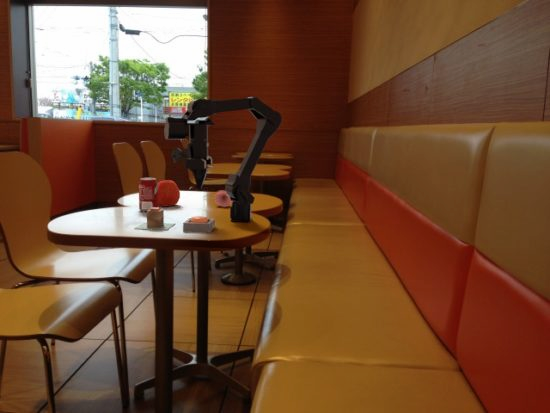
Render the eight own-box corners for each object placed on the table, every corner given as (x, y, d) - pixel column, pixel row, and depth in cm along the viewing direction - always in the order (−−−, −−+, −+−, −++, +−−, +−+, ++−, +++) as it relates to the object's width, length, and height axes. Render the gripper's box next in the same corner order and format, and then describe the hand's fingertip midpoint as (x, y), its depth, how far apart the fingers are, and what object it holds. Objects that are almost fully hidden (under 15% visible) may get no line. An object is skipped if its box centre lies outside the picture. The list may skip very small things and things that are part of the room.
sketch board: (175, 224, 144) (175, 223, 144) (167, 230, 136) (167, 229, 136) (144, 223, 145) (144, 222, 145) (134, 228, 136) (134, 228, 136)
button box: (214, 226, 142) (214, 218, 142) (209, 232, 134) (209, 223, 134) (189, 225, 143) (189, 218, 142) (183, 231, 135) (183, 222, 134)
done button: (209, 226, 141) (209, 216, 140) (205, 229, 136) (205, 219, 135) (193, 225, 141) (193, 216, 141) (189, 228, 136) (189, 219, 136)
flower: (216, 190, 186) (218, 184, 181) (234, 198, 187) (237, 192, 182) (208, 205, 182) (211, 199, 177) (227, 213, 183) (230, 208, 178)
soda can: (153, 212, 163) (152, 179, 162) (135, 211, 165) (135, 178, 163) (161, 209, 170) (160, 178, 168) (144, 208, 171) (144, 177, 169)
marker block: (163, 224, 142) (163, 207, 141) (159, 227, 138) (159, 209, 137) (151, 224, 142) (150, 206, 141) (147, 227, 138) (146, 208, 137)
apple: (176, 208, 175) (176, 181, 173) (150, 207, 175) (149, 180, 173) (182, 203, 185) (182, 178, 183) (157, 203, 185) (157, 177, 183)
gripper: (179, 138, 152) (180, 185, 155) (166, 140, 134) (167, 192, 136) (212, 139, 152) (212, 185, 155) (204, 140, 134) (204, 192, 136)
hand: (199, 188), depth 145 cm, fingers closed
